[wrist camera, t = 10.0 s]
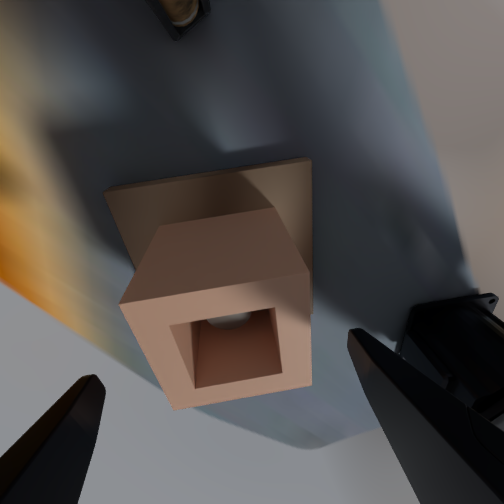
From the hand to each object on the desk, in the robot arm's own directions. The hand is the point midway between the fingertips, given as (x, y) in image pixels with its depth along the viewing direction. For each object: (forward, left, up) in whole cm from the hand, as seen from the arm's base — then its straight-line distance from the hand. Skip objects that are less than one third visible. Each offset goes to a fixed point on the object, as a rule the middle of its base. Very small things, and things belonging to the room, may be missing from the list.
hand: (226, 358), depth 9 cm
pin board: (0, 0, -7) cm, 7 cm away
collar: (0, 0, -6) cm, 6 cm away
